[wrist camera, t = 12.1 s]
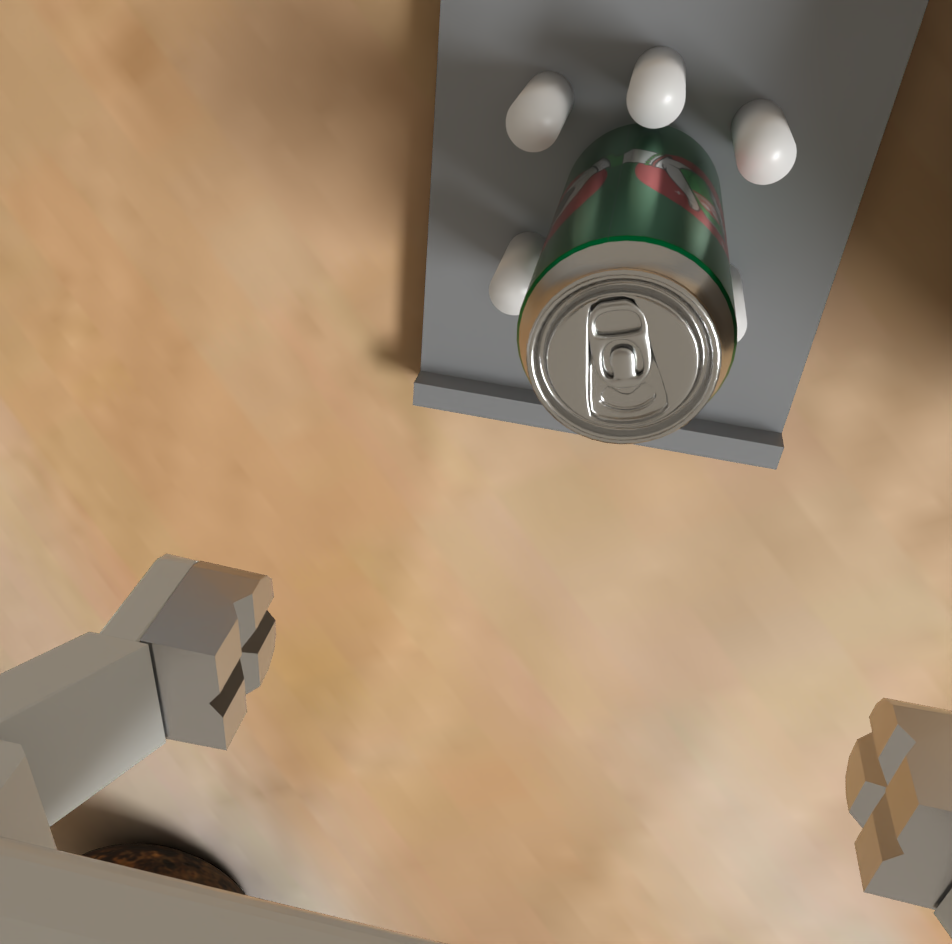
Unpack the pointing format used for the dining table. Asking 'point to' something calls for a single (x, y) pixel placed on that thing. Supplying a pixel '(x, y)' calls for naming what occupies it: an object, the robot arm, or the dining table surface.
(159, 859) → the mottled brown vase
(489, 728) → the dining table surface
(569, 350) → the soda can
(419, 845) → the dining table surface
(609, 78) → the tray
